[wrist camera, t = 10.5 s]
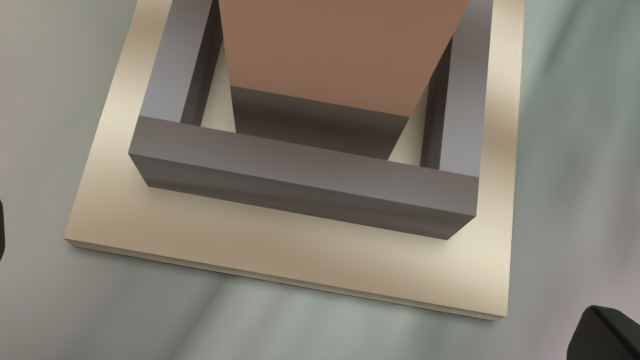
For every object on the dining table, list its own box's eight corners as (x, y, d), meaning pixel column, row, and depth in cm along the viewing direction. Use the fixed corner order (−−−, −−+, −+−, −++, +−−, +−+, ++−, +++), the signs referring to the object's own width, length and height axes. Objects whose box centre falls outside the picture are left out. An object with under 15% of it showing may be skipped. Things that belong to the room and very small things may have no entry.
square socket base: (493, 320, 17) (547, 304, 14) (74, 246, 17) (26, 211, 14) (516, -25, 21) (561, -101, 18) (177, -89, 21) (160, -178, 18)
